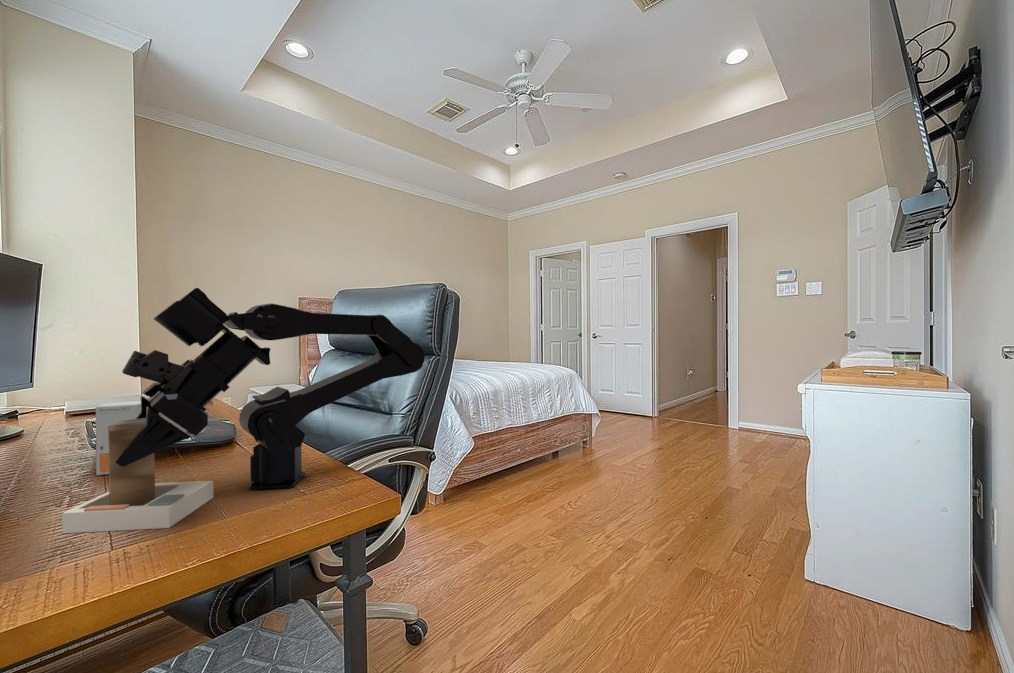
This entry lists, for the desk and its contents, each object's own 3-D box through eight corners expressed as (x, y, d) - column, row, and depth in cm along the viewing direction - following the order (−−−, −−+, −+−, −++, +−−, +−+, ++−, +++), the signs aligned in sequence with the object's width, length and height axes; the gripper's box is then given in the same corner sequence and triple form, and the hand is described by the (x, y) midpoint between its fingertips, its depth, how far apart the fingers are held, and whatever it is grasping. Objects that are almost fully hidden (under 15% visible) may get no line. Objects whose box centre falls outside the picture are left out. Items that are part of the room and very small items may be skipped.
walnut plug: (151, 505, 62) (150, 416, 62) (155, 514, 59) (153, 421, 58) (109, 514, 59) (108, 421, 58) (111, 525, 55) (109, 426, 55)
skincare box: (95, 476, 74) (93, 406, 74) (106, 469, 78) (105, 402, 78) (140, 471, 76) (138, 403, 76) (148, 465, 80) (147, 400, 80)
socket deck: (213, 497, 64) (213, 478, 64) (169, 527, 55) (168, 505, 54) (124, 501, 63) (124, 482, 63) (62, 533, 53) (62, 510, 53)
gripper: (160, 330, 68) (60, 410, 60) (174, 329, 54) (47, 433, 47) (221, 376, 73) (136, 455, 66) (247, 387, 59) (144, 487, 52)
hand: (118, 456), depth 58 cm, fingers open, 9 cm apart
